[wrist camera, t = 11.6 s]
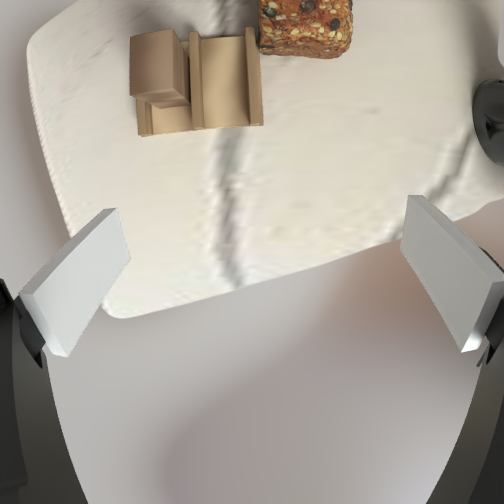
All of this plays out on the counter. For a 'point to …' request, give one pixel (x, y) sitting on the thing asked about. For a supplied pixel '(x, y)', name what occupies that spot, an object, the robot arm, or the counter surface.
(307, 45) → the bread
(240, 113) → the divided tray
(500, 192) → the counter surface
